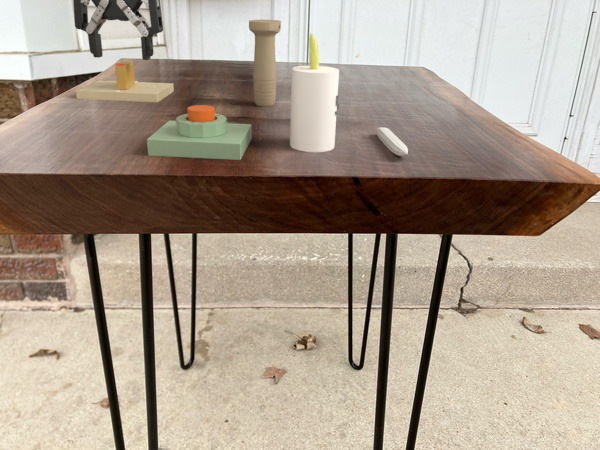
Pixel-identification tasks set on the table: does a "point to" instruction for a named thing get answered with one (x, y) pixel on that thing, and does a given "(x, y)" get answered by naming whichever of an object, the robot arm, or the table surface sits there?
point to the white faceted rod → (392, 141)
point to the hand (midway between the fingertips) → (122, 58)
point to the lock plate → (125, 91)
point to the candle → (314, 104)
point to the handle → (264, 60)
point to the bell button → (201, 113)
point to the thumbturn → (125, 75)
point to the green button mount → (200, 139)
